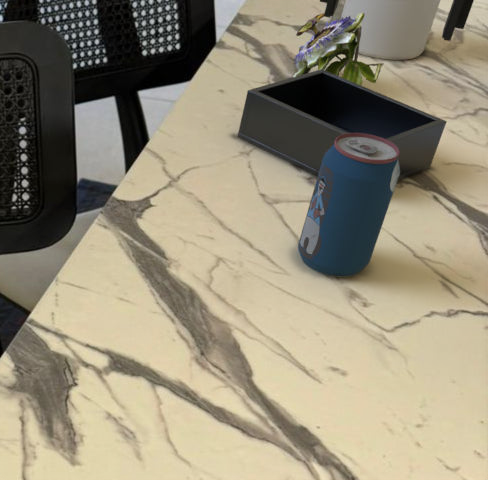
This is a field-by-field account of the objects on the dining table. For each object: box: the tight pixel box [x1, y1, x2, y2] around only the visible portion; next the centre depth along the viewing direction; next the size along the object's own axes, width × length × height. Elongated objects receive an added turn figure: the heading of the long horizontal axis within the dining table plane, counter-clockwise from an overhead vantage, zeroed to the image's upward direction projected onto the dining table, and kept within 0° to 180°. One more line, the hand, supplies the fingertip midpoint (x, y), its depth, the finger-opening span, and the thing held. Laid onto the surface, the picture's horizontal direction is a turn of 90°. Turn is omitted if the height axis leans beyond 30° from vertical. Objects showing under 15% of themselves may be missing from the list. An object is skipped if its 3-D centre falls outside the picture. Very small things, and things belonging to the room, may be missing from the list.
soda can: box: [297, 133, 400, 278], centre depth 96 cm, size 7×7×12 cm
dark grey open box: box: [237, 69, 447, 182], centre depth 117 cm, size 18×14×6 cm
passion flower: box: [292, 12, 385, 86], centre depth 132 cm, size 11×11×12 cm
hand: (387, 24), depth 85 cm, fingers open, 9 cm apart
